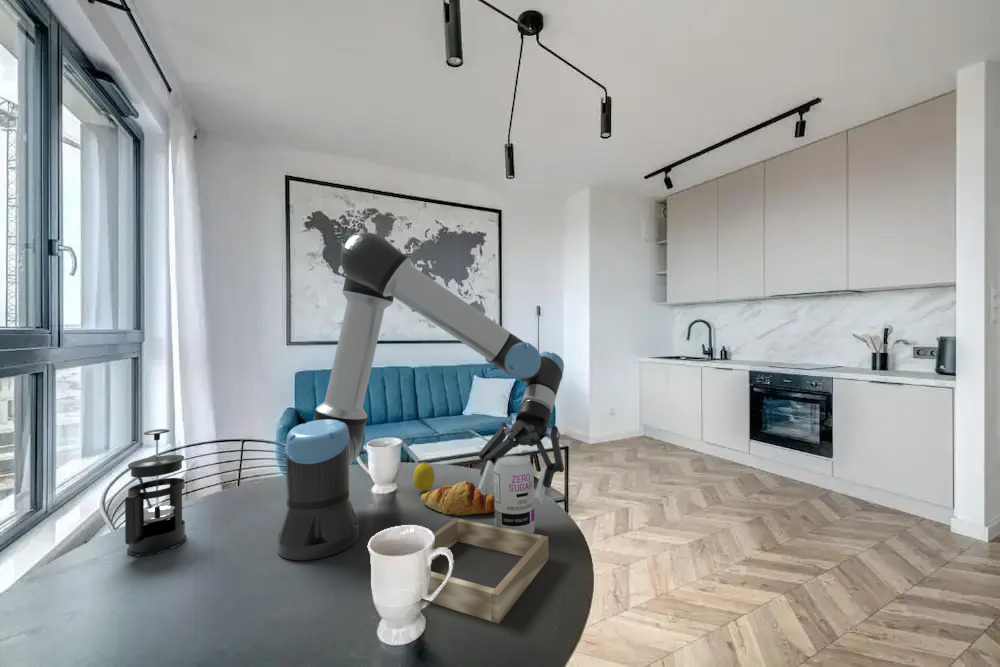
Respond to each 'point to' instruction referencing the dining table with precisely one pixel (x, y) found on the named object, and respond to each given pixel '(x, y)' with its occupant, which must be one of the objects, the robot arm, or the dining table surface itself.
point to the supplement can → (514, 493)
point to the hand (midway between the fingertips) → (508, 496)
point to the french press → (157, 528)
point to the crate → (503, 597)
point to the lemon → (423, 477)
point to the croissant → (459, 499)
